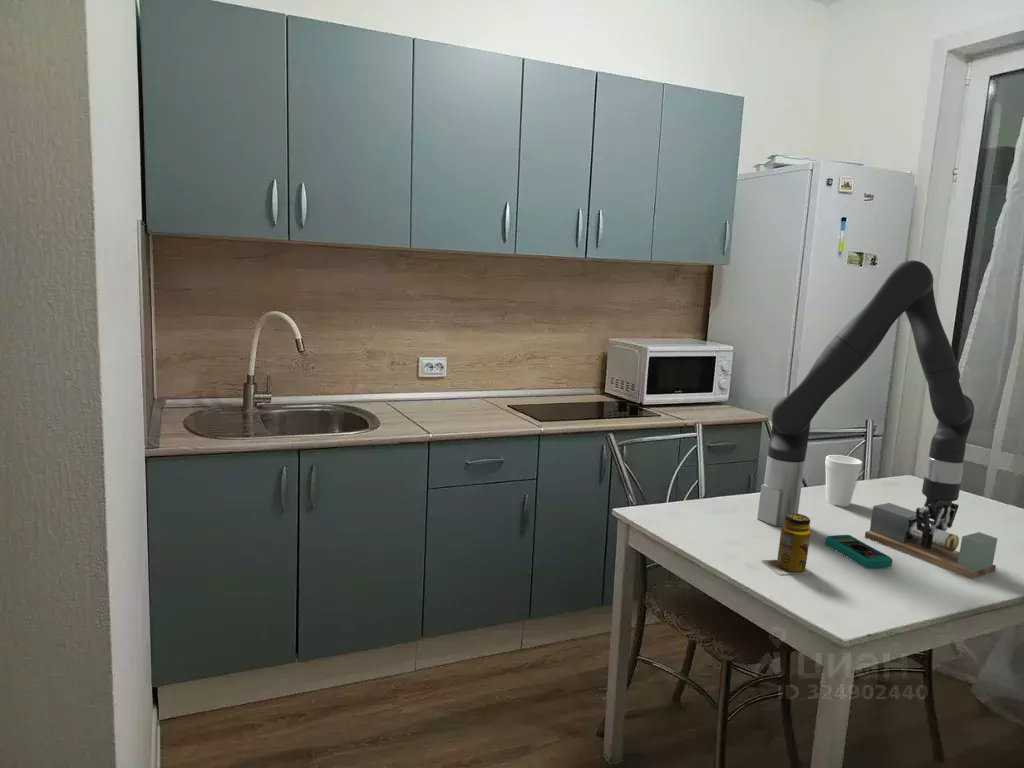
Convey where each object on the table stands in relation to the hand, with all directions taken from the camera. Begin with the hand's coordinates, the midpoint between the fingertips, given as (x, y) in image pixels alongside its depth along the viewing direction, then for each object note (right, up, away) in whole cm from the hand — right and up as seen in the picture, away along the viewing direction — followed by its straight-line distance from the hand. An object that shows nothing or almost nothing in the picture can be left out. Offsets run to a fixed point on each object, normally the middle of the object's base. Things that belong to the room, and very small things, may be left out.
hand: (931, 546), depth 175 cm
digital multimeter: (-19, -2, -2) cm, 19 cm away
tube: (-2, +1, +4) cm, 5 cm away
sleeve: (-5, +1, +8) cm, 9 cm away
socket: (+5, -3, -9) cm, 10 cm away
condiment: (-39, -2, -12) cm, 41 cm away
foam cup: (-6, +4, +37) cm, 37 cm away
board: (-1, -2, +1) cm, 2 cm away
